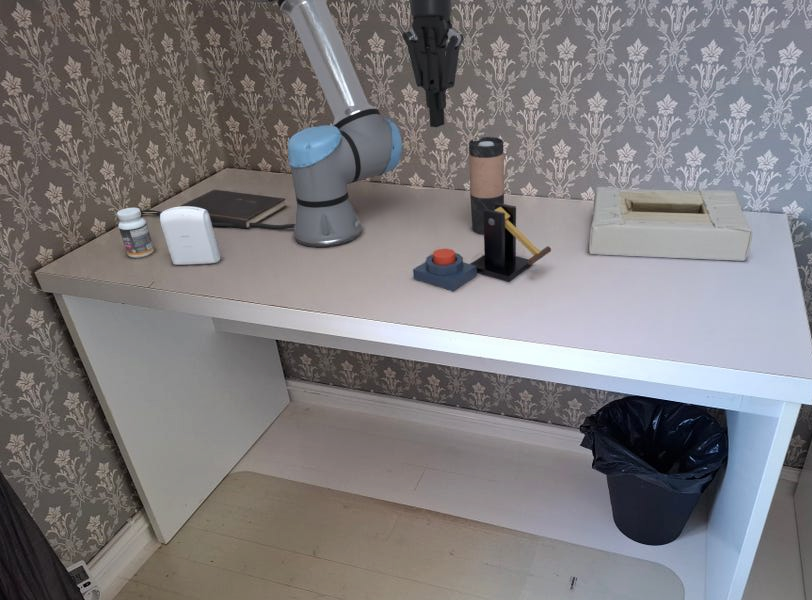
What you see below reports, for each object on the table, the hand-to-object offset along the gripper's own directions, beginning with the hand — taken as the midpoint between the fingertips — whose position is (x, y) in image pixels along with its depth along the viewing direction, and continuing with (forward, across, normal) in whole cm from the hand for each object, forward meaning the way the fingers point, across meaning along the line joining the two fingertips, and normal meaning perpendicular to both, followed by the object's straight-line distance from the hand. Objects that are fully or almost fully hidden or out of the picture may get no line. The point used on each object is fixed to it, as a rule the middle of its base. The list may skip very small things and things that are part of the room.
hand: (437, 125), depth 135 cm
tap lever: (+19, +20, -2) cm, 27 cm away
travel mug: (+27, +2, +14) cm, 30 cm away
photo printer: (+27, -42, -34) cm, 60 cm away
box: (+27, +38, +30) cm, 55 cm away
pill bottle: (+27, -57, -38) cm, 73 cm away
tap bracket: (+26, +16, -2) cm, 31 cm away
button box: (+26, +9, -11) cm, 30 cm away
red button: (+23, +9, -11) cm, 27 cm away
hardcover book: (+27, -60, -11) cm, 67 cm away
